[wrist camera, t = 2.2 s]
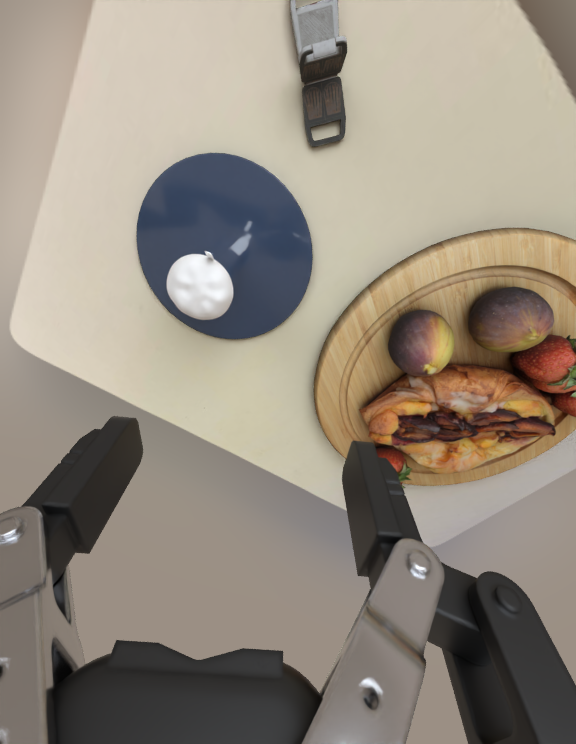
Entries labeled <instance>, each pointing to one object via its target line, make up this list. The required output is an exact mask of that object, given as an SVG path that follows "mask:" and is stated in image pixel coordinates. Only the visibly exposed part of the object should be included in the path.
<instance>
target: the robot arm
mask: <svg viewBox="0 0 576 744" xmlns="http://www.w3.org/2000/svg"><path fill="white" fill-rule="evenodd" d="M142 455H143V446H142V441H141V435H140V430H139V425H138V421H137V420H136V418H128V417H118V416H113V417H111V418H110V419H109V420H108V422H107V423H106V424H105V425H104V427H103V428H102V429H101V430H100V429H94V430H93V431H91V432H90V433H88V434H87V435H85V436H84V437H82V438H81V439H79V441H78V442H77V443H76V444H75V445H74V446H73V448H72V449H71V450H70V453H68V454H67V455H66V456H65V457H64V458H63V459H62V460H61V463H60V464H58V465H57V466H56V467H55V468H54V470H53V471H52V472H51V473H50V475H49V476H48V477H47V478H46V479H45V480H44V481H43V482H42V484H41V485H40V486H39V487H38V488H37V489H36V491H35V492H34V493H33V494H32V495H31V497H30V498H29V499H28V500H27V501H26V502H25V503H24V504H23V505H22V506H21V507H17V508H14V509H10V510H8V511H5V512H3V513H1V514H0V744H406V740H407V737H408V733H409V729H410V726H411V722H412V718H413V715H414V711H415V707H416V704H417V700H418V696H419V692H420V689H421V685H422V682H423V678H424V673H425V668H426V667H425V666H426V660H425V659H424V655H423V654H424V649H425V645H426V642H427V641H428V642H430V643H432V644H434V645H436V646H438V647H440V648H442V651H443V654H444V658H445V661H446V665H447V669H448V672H449V676H450V680H451V683H452V686H453V690H454V694H455V697H456V701H457V705H458V708H459V712H460V715H461V719H462V723H463V726H464V730H465V733H466V737H467V741H468V744H576V685H575V683H574V681H573V679H572V678H571V676H570V674H569V672H568V670H567V668H566V666H565V664H564V663H563V661H562V659H561V657H560V655H559V653H558V651H557V649H556V647H555V645H554V644H553V642H552V640H551V638H550V636H549V634H548V632H547V631H546V629H545V627H544V625H543V623H542V621H541V619H540V617H539V615H538V613H537V611H536V610H535V608H534V606H533V604H532V602H531V601H530V599H529V598H528V597H527V595H526V594H525V593H524V591H523V590H522V589H521V588H520V587H519V586H518V585H517V584H516V583H514V582H513V581H512V580H510V579H509V578H507V577H505V576H503V575H502V574H499V573H496V572H484V573H482V574H481V575H480V576H479V577H478V578H475V577H473V576H470V575H468V574H466V573H463V572H461V571H458V570H456V569H454V568H451V567H449V566H447V565H445V564H443V563H442V562H440V560H439V558H438V557H437V555H436V554H435V553H434V552H433V551H432V550H431V549H430V548H429V547H428V546H427V545H425V544H424V543H423V541H422V539H421V537H420V534H419V532H418V529H417V526H416V523H415V521H414V518H413V515H412V512H411V510H410V507H409V504H408V501H407V499H406V496H404V494H405V493H404V490H403V488H402V485H401V484H400V483H401V482H400V479H399V477H398V474H397V471H396V469H395V468H394V467H393V465H392V464H391V463H390V462H389V461H388V459H387V458H382V457H378V454H377V451H376V448H375V445H374V443H372V442H364V441H352V442H351V445H350V448H349V451H348V454H347V458H346V461H345V464H344V467H343V474H342V482H343V489H344V495H345V501H346V507H347V513H348V519H349V525H350V531H351V537H352V543H353V550H354V555H355V561H356V567H357V574H358V576H366V577H369V582H370V587H371V589H370V591H369V593H368V595H367V597H366V599H365V601H364V604H363V606H362V607H361V610H360V612H359V614H358V616H357V618H356V620H355V622H354V624H353V626H352V628H351V631H350V632H349V634H348V636H347V638H346V641H345V643H344V645H343V647H342V649H341V651H340V653H339V654H338V656H337V658H336V660H335V662H334V664H333V666H332V668H331V670H330V673H329V674H328V677H327V678H326V681H325V683H324V685H323V687H322V689H321V691H320V693H319V692H318V691H317V689H316V688H315V687H314V686H313V685H312V684H311V683H310V681H309V680H308V679H307V678H306V677H304V676H303V675H302V674H301V673H300V672H299V671H297V670H296V669H294V668H293V667H291V666H289V665H287V664H285V663H283V651H274V650H259V649H244V648H243V649H240V650H235V651H233V652H228V653H225V654H221V655H218V656H214V657H210V658H207V659H203V660H195V659H192V658H190V657H188V656H186V655H184V654H181V653H179V652H177V651H175V650H172V649H170V648H168V647H166V646H164V645H162V644H159V643H151V642H136V641H120V640H117V641H116V643H115V645H114V648H113V650H112V653H111V654H107V655H105V656H102V657H100V658H97V659H95V660H93V661H91V662H89V663H88V664H86V665H85V660H84V654H83V650H82V646H81V642H80V639H79V636H78V632H77V627H76V621H75V620H76V619H75V612H74V603H73V595H72V586H71V579H70V570H69V565H68V564H69V562H70V560H71V559H72V557H73V555H74V554H75V553H87V554H88V553H90V552H91V549H92V548H93V546H94V544H95V543H96V541H97V539H98V537H99V535H100V534H101V532H102V530H103V528H104V527H105V525H106V523H107V521H108V520H109V518H110V516H111V514H112V512H113V511H114V509H115V507H116V505H117V504H118V502H119V500H120V498H121V496H122V495H123V493H124V491H125V489H126V488H127V486H128V484H129V482H130V480H131V479H132V477H133V475H134V473H135V472H136V470H137V468H138V466H139V464H140V462H141V459H142Z"/></svg>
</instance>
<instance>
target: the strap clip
mask: <svg viewBox="0 0 576 744" xmlns="http://www.w3.org/2000/svg"><path fill="white" fill-rule="evenodd" d="M290 10H291V20H292V26H293V31H294V37H295V43H296V48H297V54H298V59H299V66H300V74H301V81H302V82H303V83H304V82H305V84H306V85H305V86H304V87H303V90H302V94H303V106H304V118H305V129H306V133H307V137H308V141H309V143H310V145H311V146H314V147H315V146H319V145H323V144H327V143H331V142H335V141H339V140H341V139H343V137H344V135H345V123H346V116H345V108H344V100H343V92H342V84H341V79H340V77H336V76H337V73H339V72H341V69H342V66H343V63H344V60H345V57H346V54H347V41H346V37H345V36H339V22H338V0H323V1H319V2H316V3H313V4H309V5H306V6H303V7H300V8H296V3H295V0H290ZM337 120H340V135H337V136H334V137H330V138H326V139H322V140H317V141H314V140H313V138H312V134H311V129H310V127H313V126H317V125H321V124H325V123H329V122H333V121H337Z"/></svg>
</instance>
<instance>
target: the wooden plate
mask: <svg viewBox="0 0 576 744" xmlns="http://www.w3.org/2000/svg"><path fill="white" fill-rule="evenodd" d="M314 402H315V409H316V414H317V417H318V420H319V423H320V425H321V428H322V430H323V432H324V434H325V435H326V437H327V439H328V440H329V441H330V443H331V444H332V446H333V447H334V448H335V449H336V450H337V451H338V452H339V453H340V454H341V455H342V456H343V457H344V458H345V459H346V458H347V454H348V451H349V448H350V445H351V442H352V441H364V442H372V443H374V445H375V448H376V451H377V454H378V457H382V458H387V459H388V461H389V462H390V463H391V464H392V465H393V467H394V468H395V469H396V471H397V474H398V477H399V479H400V482H401V483H400V484H401V485H402V483H405V484H412V485H422V486H436V485H450V484H458V483H464V482H470V481H474V480H479V479H483V478H486V477H490V476H493V475H496V474H499V473H502V472H504V471H507V470H509V469H512V468H515V467H517V466H519V465H521V464H523V463H525V462H527V461H529V460H531V459H533V458H535V457H537V456H538V455H540V454H542V453H544V452H545V451H547V450H549V449H550V448H552V447H553V446H555V445H556V444H557V443H559V442H560V441H562V440H563V439H564V438H566V437H567V436H568V435H569V434H571V433H572V432H573V431H574V430H575V429H576V240H573V239H570V238H568V237H565V236H562V235H559V234H556V233H552V232H549V231H542V230H536V229H529V228H502V229H492V230H484V231H478V232H474V233H470V234H465V235H461V236H458V237H454V238H451V239H448V240H445V241H442V242H439V243H437V244H434V245H431V246H429V247H427V248H425V249H423V250H421V251H419V252H417V253H415V254H413V255H411V256H409V257H408V258H406V259H404V260H402V261H401V262H399V263H397V264H396V265H394V266H393V267H391V268H390V269H388V270H387V271H386V272H384V273H383V274H382V275H380V276H379V277H378V278H377V279H375V280H374V281H373V282H372V283H371V284H369V285H368V286H367V287H366V288H365V289H364V290H363V291H362V292H361V293H360V294H359V295H358V296H357V297H356V298H355V299H354V300H353V301H352V302H351V304H350V305H349V306H348V307H347V308H346V310H345V311H344V312H343V313H342V315H341V316H340V317H339V319H338V320H337V322H336V323H335V324H334V326H333V327H332V329H331V331H330V333H329V335H328V337H327V339H326V341H325V343H324V345H323V348H322V351H321V353H320V356H319V360H318V364H317V368H316V373H315V378H314ZM402 488H405V487H404V486H402Z"/></svg>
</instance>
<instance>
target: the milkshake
mask: <svg viewBox="0 0 576 744" xmlns="http://www.w3.org/2000/svg"><path fill="white" fill-rule="evenodd" d="M240 270H241V264H240V260H239V256H238V255H237V254H236V253H235V252H234V251H233V250H232V249H231V248H229V247H223V246H216V247H213V248H210V249H208V250H205V251H202V252H198V253H194V254H190V255H186V256H184V257H181V258H180V259H178V260H177V261H176V262H175V263H174V264H173V265H172V267H171V269H170V271H169V273H168V277H167V291H168V294H169V296H170V298H171V300H172V301H173V302H174V304H175V305H176V306H177V308H178V309H179V310H180V311H181V312H183V313H184V314H186V315H188V316H190V317H193V318H196V319H200V320H210V319H215V318H218V317H220V316H221V315H223V314H224V313H225V312H226V311H227V310H228V308H229V306H230V304H231V302H232V299H233V294H234V290H235V286H236V282H237V279H238V276H239V273H240Z"/></svg>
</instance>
